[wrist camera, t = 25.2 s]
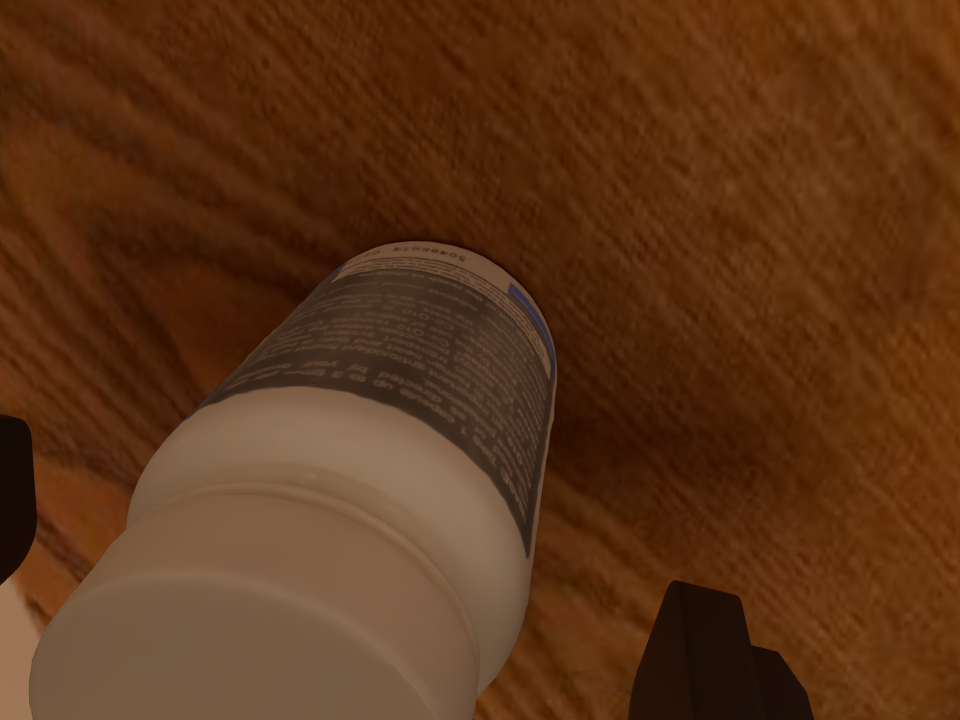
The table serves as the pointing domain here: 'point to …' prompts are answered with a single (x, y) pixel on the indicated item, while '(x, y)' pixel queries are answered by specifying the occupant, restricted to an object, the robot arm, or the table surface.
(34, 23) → the table surface
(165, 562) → the pill bottle
